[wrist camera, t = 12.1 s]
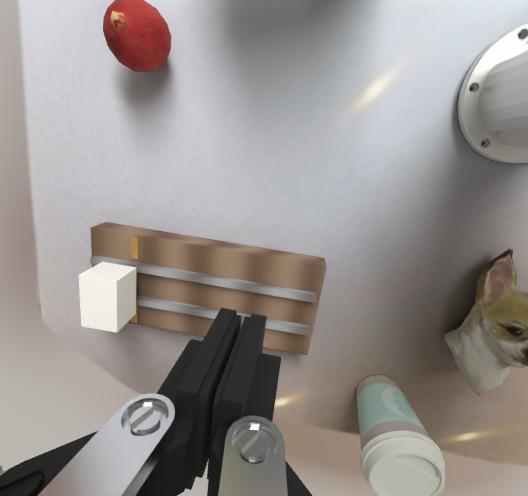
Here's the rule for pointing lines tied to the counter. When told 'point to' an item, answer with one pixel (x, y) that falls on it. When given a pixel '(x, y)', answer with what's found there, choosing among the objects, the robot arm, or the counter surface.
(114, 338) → the counter surface
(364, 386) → the coffee cup
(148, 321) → the linear slide rail
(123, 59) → the onion
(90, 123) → the counter surface
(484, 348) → the ceramic sculpture
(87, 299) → the white block
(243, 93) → the counter surface
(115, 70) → the counter surface
